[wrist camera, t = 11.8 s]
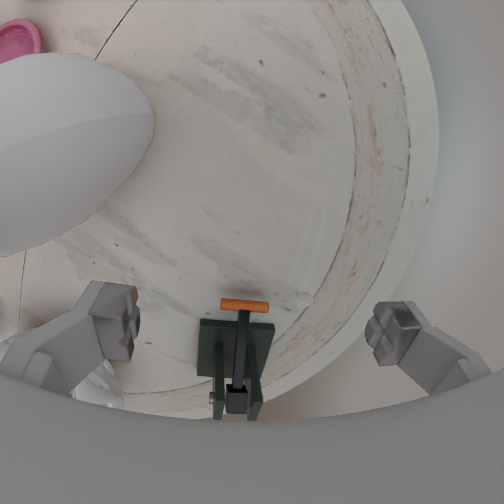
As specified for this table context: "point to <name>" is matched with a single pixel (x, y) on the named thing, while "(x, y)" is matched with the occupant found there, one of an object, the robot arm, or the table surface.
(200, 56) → the table surface
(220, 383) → the switch bracket
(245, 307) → the switch lever
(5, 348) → the decorative ball
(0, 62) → the saucer
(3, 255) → the bottle
